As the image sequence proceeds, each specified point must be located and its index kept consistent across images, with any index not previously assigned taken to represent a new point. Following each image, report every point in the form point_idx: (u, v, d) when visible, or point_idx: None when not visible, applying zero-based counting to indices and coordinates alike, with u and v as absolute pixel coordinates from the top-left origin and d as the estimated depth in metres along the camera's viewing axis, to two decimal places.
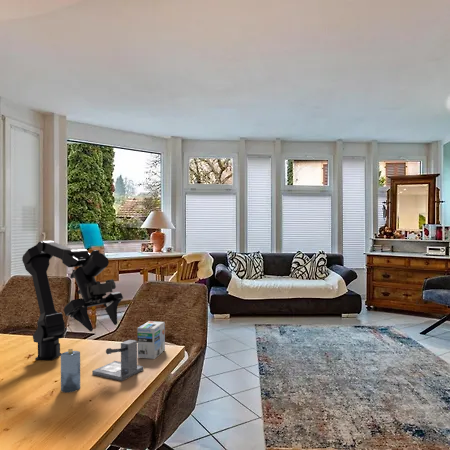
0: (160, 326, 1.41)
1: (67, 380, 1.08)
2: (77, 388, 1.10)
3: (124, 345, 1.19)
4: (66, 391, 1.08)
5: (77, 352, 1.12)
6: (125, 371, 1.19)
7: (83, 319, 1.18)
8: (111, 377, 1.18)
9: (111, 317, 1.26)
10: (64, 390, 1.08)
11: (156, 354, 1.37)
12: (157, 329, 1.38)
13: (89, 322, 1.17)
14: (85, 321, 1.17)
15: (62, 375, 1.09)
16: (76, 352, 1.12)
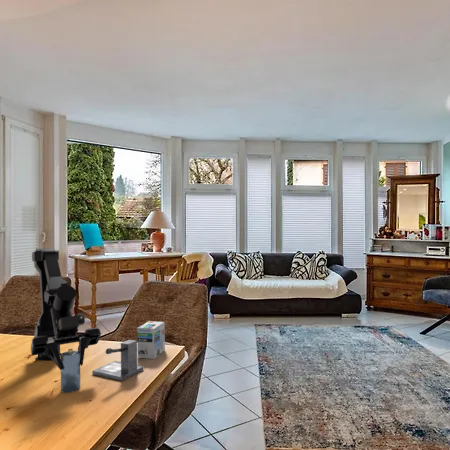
0: (160, 326, 1.41)
1: (67, 380, 1.08)
2: (77, 388, 1.10)
3: (124, 345, 1.19)
4: (66, 391, 1.08)
5: (77, 352, 1.12)
6: (125, 371, 1.19)
7: (54, 356, 1.10)
8: (111, 377, 1.18)
9: None
10: (64, 390, 1.08)
11: (156, 354, 1.37)
12: (157, 329, 1.38)
13: (59, 360, 1.09)
14: (55, 358, 1.09)
15: (62, 375, 1.09)
16: (76, 352, 1.12)
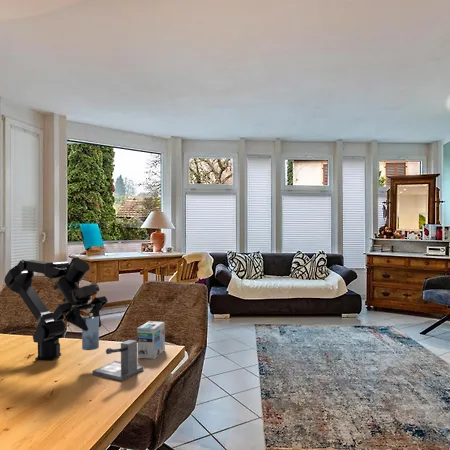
0: (160, 326, 1.41)
1: (92, 339, 1.25)
2: (98, 346, 1.27)
3: (124, 345, 1.19)
4: (91, 349, 1.25)
5: (95, 316, 1.29)
6: (125, 371, 1.19)
7: (77, 321, 1.25)
8: (111, 377, 1.18)
9: None
10: (88, 348, 1.25)
11: (156, 354, 1.37)
12: (157, 329, 1.38)
13: (83, 323, 1.24)
14: (79, 322, 1.24)
15: (86, 335, 1.25)
16: (94, 316, 1.29)
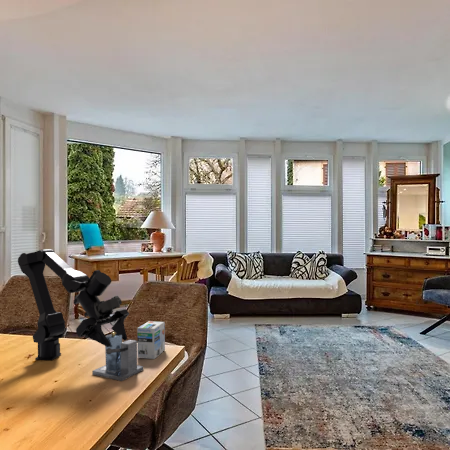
0: (160, 326, 1.41)
1: (116, 358, 1.22)
2: None
3: (124, 345, 1.19)
4: (116, 369, 1.22)
5: (117, 334, 1.25)
6: (125, 371, 1.19)
7: (98, 336, 1.20)
8: (111, 377, 1.18)
9: None
10: (113, 368, 1.21)
11: (156, 354, 1.37)
12: (157, 329, 1.38)
13: (105, 338, 1.20)
14: (101, 338, 1.20)
15: (110, 355, 1.21)
16: (116, 334, 1.25)
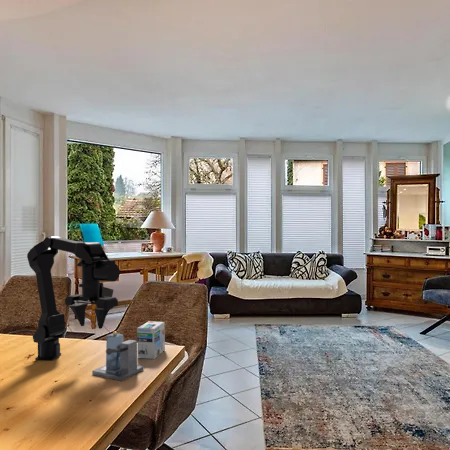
0: (160, 326, 1.41)
1: (117, 358, 1.22)
2: None
3: (124, 345, 1.19)
4: (116, 368, 1.22)
5: (119, 334, 1.26)
6: (125, 371, 1.19)
7: (102, 316, 1.26)
8: (111, 377, 1.18)
9: (80, 317, 1.30)
10: (114, 367, 1.21)
11: (156, 354, 1.37)
12: (157, 329, 1.38)
13: None
14: (103, 318, 1.26)
15: (111, 354, 1.22)
16: (118, 334, 1.26)
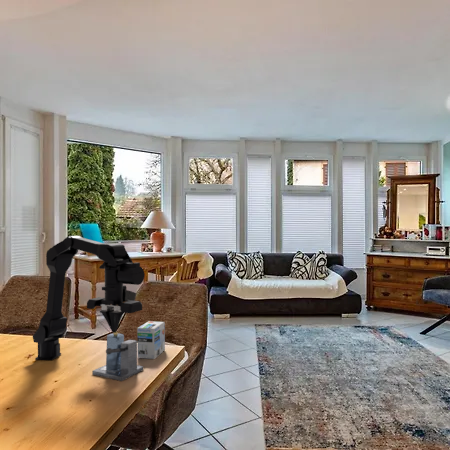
0: (160, 326, 1.41)
1: (118, 358, 1.22)
2: None
3: (124, 345, 1.19)
4: (117, 369, 1.22)
5: (119, 334, 1.26)
6: (125, 371, 1.19)
7: (117, 319, 1.23)
8: (111, 377, 1.18)
9: None
10: (114, 368, 1.21)
11: (156, 354, 1.37)
12: (157, 329, 1.38)
13: None
14: (118, 322, 1.24)
15: (112, 355, 1.21)
16: (118, 334, 1.25)
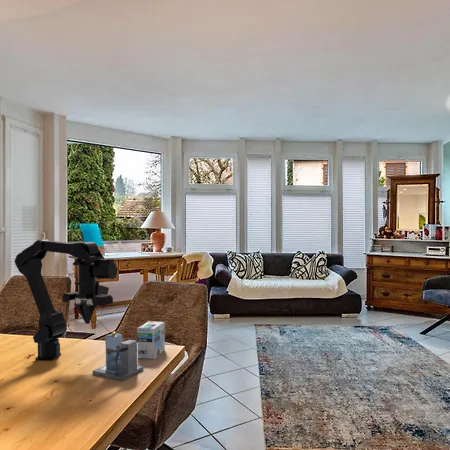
0: (160, 326, 1.41)
1: (117, 358, 1.22)
2: None
3: (124, 345, 1.19)
4: (117, 368, 1.22)
5: (117, 334, 1.26)
6: (125, 371, 1.19)
7: (90, 312, 1.33)
8: (111, 377, 1.18)
9: None
10: (114, 367, 1.22)
11: (156, 354, 1.37)
12: (157, 329, 1.38)
13: None
14: (91, 314, 1.34)
15: (112, 354, 1.22)
16: (116, 334, 1.26)
